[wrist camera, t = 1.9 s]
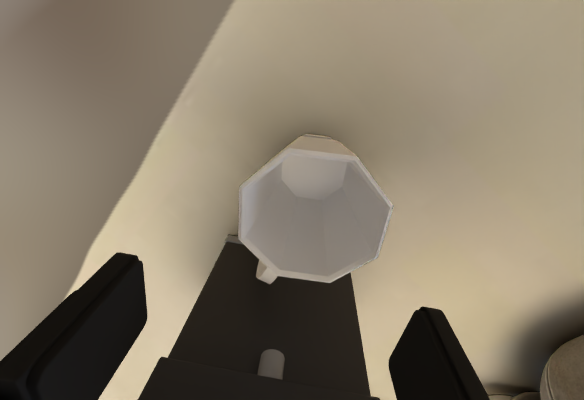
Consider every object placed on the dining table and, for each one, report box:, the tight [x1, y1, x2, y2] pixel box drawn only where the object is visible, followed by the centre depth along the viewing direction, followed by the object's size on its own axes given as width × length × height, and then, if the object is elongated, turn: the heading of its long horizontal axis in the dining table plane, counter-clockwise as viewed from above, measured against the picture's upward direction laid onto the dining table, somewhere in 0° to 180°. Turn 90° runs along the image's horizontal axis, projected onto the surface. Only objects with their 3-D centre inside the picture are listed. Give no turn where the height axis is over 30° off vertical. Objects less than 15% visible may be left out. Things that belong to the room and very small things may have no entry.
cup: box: [238, 134, 394, 284], centre depth 16 cm, size 7×10×8 cm
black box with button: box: [138, 235, 380, 400], centre depth 17 cm, size 8×10×16 cm
